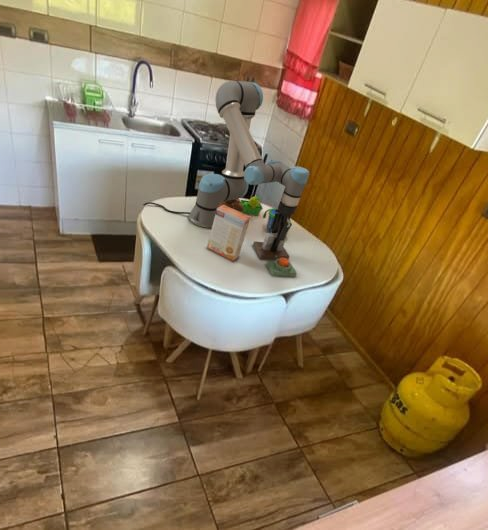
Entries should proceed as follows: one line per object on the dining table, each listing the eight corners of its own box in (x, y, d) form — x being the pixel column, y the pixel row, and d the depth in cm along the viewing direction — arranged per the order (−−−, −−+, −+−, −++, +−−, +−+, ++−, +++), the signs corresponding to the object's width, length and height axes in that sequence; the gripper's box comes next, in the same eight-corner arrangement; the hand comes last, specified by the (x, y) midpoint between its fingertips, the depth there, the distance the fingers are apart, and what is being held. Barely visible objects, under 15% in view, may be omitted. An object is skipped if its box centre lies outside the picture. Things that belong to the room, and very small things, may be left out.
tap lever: (263, 250, 174) (269, 235, 170) (261, 246, 176) (266, 232, 172) (281, 250, 176) (287, 237, 172) (279, 247, 179) (284, 233, 174)
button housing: (272, 276, 163) (275, 268, 160) (266, 264, 169) (268, 257, 167) (295, 276, 165) (298, 269, 163) (288, 265, 172) (291, 258, 169)
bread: (209, 201, 210) (213, 185, 205) (226, 201, 214) (231, 185, 209) (222, 218, 197) (227, 201, 191) (240, 218, 201) (245, 201, 195)
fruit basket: (257, 210, 213) (263, 192, 206) (260, 218, 206) (267, 199, 199) (238, 207, 211) (243, 189, 204) (240, 215, 204) (246, 196, 197)
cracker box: (239, 256, 170) (251, 216, 158) (232, 262, 166) (245, 221, 154) (213, 243, 176) (223, 203, 163) (206, 248, 171) (216, 207, 159)
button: (280, 267, 163) (281, 263, 162) (276, 261, 166) (278, 257, 165) (289, 267, 164) (291, 263, 163) (285, 261, 167) (287, 257, 166)
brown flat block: (260, 260, 171) (262, 256, 169) (251, 244, 181) (253, 239, 180) (288, 262, 174) (290, 257, 173) (278, 245, 185) (280, 241, 183)
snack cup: (255, 224, 198) (261, 207, 192) (268, 220, 204) (274, 204, 198) (278, 240, 189) (285, 222, 184) (291, 235, 196) (297, 218, 190)
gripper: (304, 212, 157) (285, 258, 171) (289, 195, 170) (273, 238, 183) (288, 211, 155) (270, 257, 169) (274, 193, 168) (259, 237, 181)
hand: (272, 247), depth 176 cm, fingers closed on tap lever, 3 cm apart
